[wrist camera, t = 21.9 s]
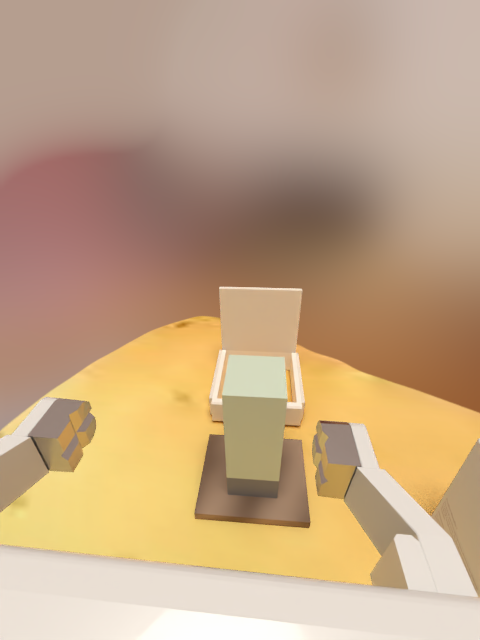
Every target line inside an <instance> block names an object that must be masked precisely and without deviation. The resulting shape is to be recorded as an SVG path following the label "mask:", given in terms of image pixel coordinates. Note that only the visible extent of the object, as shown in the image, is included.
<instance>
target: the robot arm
mask: <svg viewBox="0 0 480 640" xmlns="http://www.w3.org/2000/svg"><path fill="white" fill-rule="evenodd" d="M90 410H91V406H90V403H89V402H87V401H79V400H70V399H61V398H51V397H45V398H43V399H42V400H40V401H39V403H38V404H37V405H36V406H35V407H34V409H33V410H32V411H31V412H30V413H29V414H28V416H27V417H26V418H25V419H24V420H23V422H22V423H21V424H20V425H19V426H18V427H17V429H16V430H15V431H14V432H13V433H12V435H6V436H4V437H2V438H0V512H1V511H3V510H4V509H5V508H6V507H7V506H9V505H10V504H11V503H12V502H13V501H15V500H16V499H17V498H18V497H20V496H21V495H22V494H23V493H24V492H26V491H27V490H28V489H29V488H30V487H32V486H33V485H34V484H35V483H36V482H38V481H39V480H40V479H41V478H42V477H44V476H45V475H46V474H47V473H49V471H61V472H74V470H75V468H76V466H77V465H78V463H79V461H80V459H81V458H82V456H83V450H82V448H84V447H85V446H86V445H88V444H89V443H90V442H91V440H92V438H93V436H94V433H95V429H96V420H95V417H94V416H93V415H92V414H91V413H89V411H90ZM316 429H317V434H316V435H315V436H314V439H313V446H312V455H313V464H314V465H315V466H316V467H317V471H316V475H315V479H316V486H317V493H318V496H322V497H330V498H338V499H344V502H345V503H346V505H347V506H348V508H349V509H350V511H351V512H352V513H353V515H354V516H355V518H356V519H357V521H358V522H359V524H360V525H361V527H362V528H363V530H364V531H365V533H366V534H367V535H368V537H369V538H370V540H371V541H372V543H373V544H374V546H375V547H376V549H377V550H378V552H379V553H380V555H381V556H382V557H381V558H380V560H379V561H378V563H377V564H376V566H375V567H374V569H373V570H372V572H371V573H370V576H371V581H372V585H364V584H355V583H346V582H337V581H328V580H319V579H310V578H301V577H292V576H283V575H274V574H265V573H256V572H247V571H238V570H229V569H220V568H211V567H202V566H193V565H184V564H175V563H166V562H157V561H148V560H139V559H130V558H121V557H111V556H102V555H93V554H84V553H75V552H66V551H57V550H48V549H39V548H30V547H21V546H12V545H3V544H0V640H480V597H478V595H477V593H476V591H475V589H474V586H473V584H472V582H471V580H470V577H469V575H468V573H467V571H466V568H465V566H464V564H463V562H462V560H461V557H460V555H459V553H458V551H457V548H456V546H455V544H454V542H453V539H452V538H451V537H450V536H449V535H448V534H447V533H446V532H445V531H444V530H443V529H442V528H441V527H440V526H439V525H438V524H437V522H436V521H435V520H434V519H433V518H432V517H431V516H430V515H429V514H428V513H427V512H426V511H425V510H424V509H423V508H422V507H421V506H420V505H419V504H418V503H417V502H416V501H415V500H414V499H413V498H412V497H411V496H410V495H409V494H408V493H407V492H406V491H405V490H404V489H403V488H402V487H401V486H400V485H399V484H398V483H397V482H396V481H395V480H394V479H393V478H392V477H391V476H390V475H389V474H388V473H387V472H386V471H385V470H384V469H380V468H379V465H378V462H377V459H376V456H375V453H374V450H373V447H372V444H371V441H370V438H369V435H368V432H367V429H366V426H365V425H364V424H356V423H347V422H334V421H320V420H319V421H318V423H317V426H316Z"/></svg>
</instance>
